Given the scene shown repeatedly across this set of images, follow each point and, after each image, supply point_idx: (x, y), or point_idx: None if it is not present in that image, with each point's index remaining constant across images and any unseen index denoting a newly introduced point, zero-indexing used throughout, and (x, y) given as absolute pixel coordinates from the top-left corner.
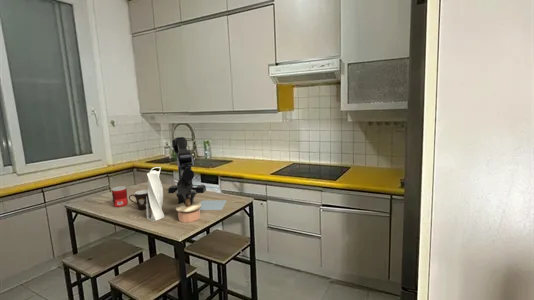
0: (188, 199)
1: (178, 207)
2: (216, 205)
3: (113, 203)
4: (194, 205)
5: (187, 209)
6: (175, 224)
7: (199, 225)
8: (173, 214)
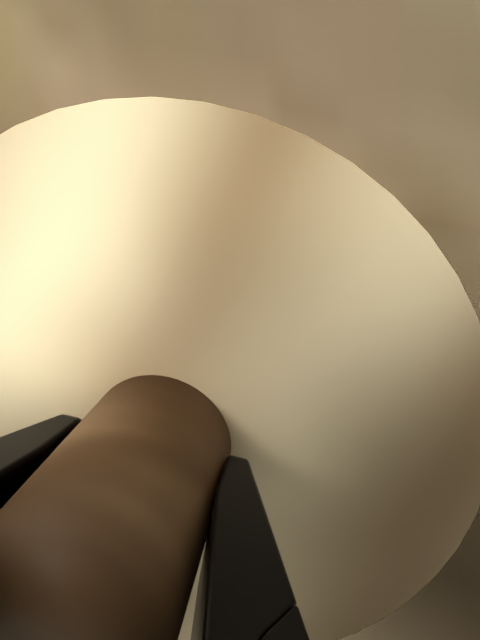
0: (10, 522)
1: (412, 377)
2: None
3: None
4: (21, 413)
5: (121, 154)
6: (423, 121)
7: (16, 6)
8: (476, 519)
